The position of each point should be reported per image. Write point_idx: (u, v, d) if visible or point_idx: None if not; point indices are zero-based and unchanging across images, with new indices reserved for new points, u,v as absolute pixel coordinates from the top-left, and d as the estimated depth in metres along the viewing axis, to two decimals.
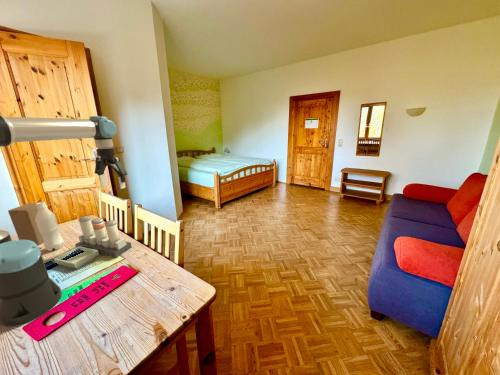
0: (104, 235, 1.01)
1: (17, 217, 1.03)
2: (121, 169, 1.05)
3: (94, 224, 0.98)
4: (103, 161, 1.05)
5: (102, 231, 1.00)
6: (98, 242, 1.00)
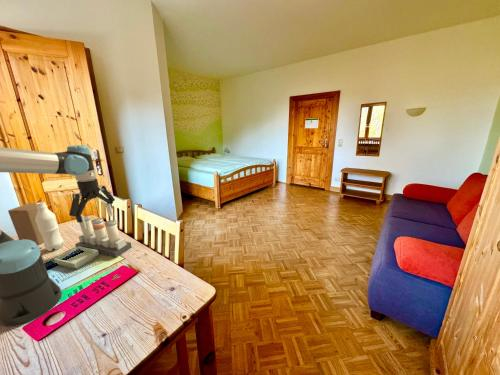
0: (104, 235, 1.01)
1: (17, 217, 1.03)
2: (71, 208, 0.89)
3: (94, 224, 0.98)
4: None
5: (102, 231, 1.00)
6: (98, 242, 1.00)
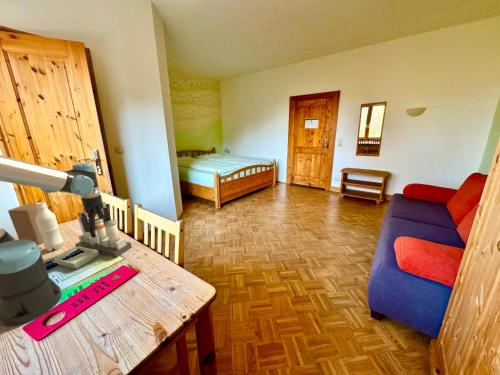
0: (104, 235, 1.01)
1: (17, 217, 1.03)
2: (84, 226, 0.94)
3: None
4: None
5: (102, 231, 1.00)
6: None
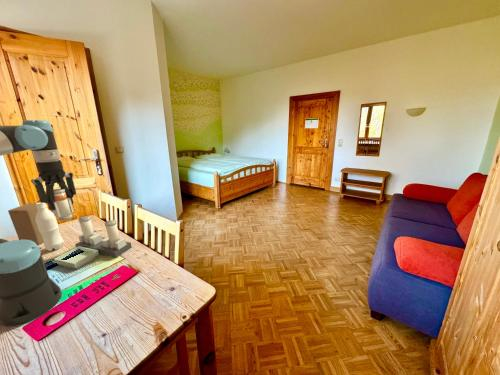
0: (66, 208, 0.87)
1: (17, 217, 1.03)
2: (39, 195, 0.80)
3: None
4: None
5: (64, 203, 0.86)
6: None
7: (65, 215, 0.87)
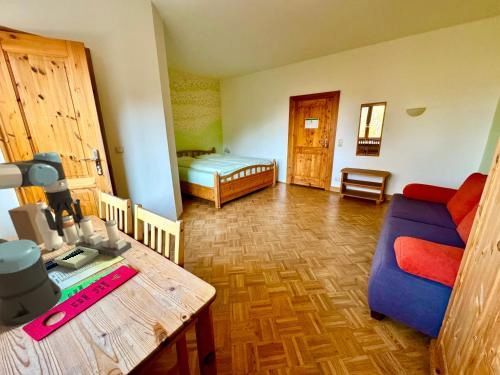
0: (74, 234, 0.91)
1: (17, 217, 1.03)
2: (49, 223, 0.84)
3: (62, 221, 0.87)
4: None
5: (72, 229, 0.90)
6: None
7: (73, 240, 0.91)
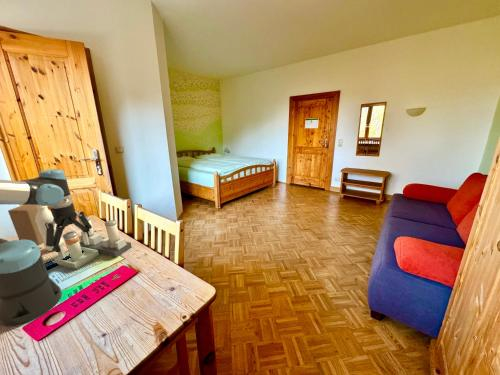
0: (78, 250, 0.93)
1: (17, 217, 1.03)
2: (47, 238, 0.84)
3: (66, 239, 0.89)
4: None
5: (76, 246, 0.92)
6: (72, 258, 0.92)
7: (78, 256, 0.93)
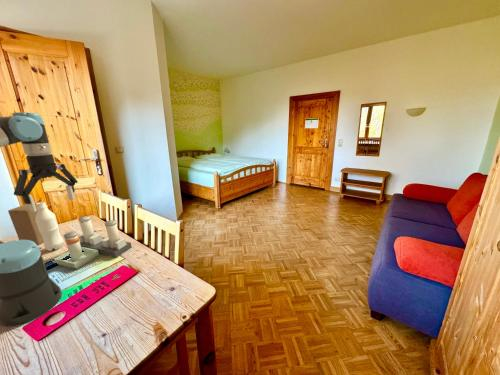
0: (78, 250, 0.93)
1: (17, 217, 1.03)
2: (17, 186, 0.75)
3: (67, 238, 0.89)
4: None
5: (76, 246, 0.92)
6: (72, 258, 0.92)
7: (78, 256, 0.93)
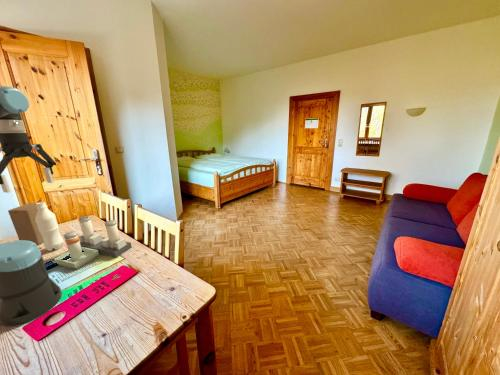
0: (78, 250, 0.93)
1: (17, 217, 1.03)
2: None
3: (67, 238, 0.89)
4: None
5: (76, 246, 0.92)
6: (72, 258, 0.92)
7: (78, 256, 0.93)
